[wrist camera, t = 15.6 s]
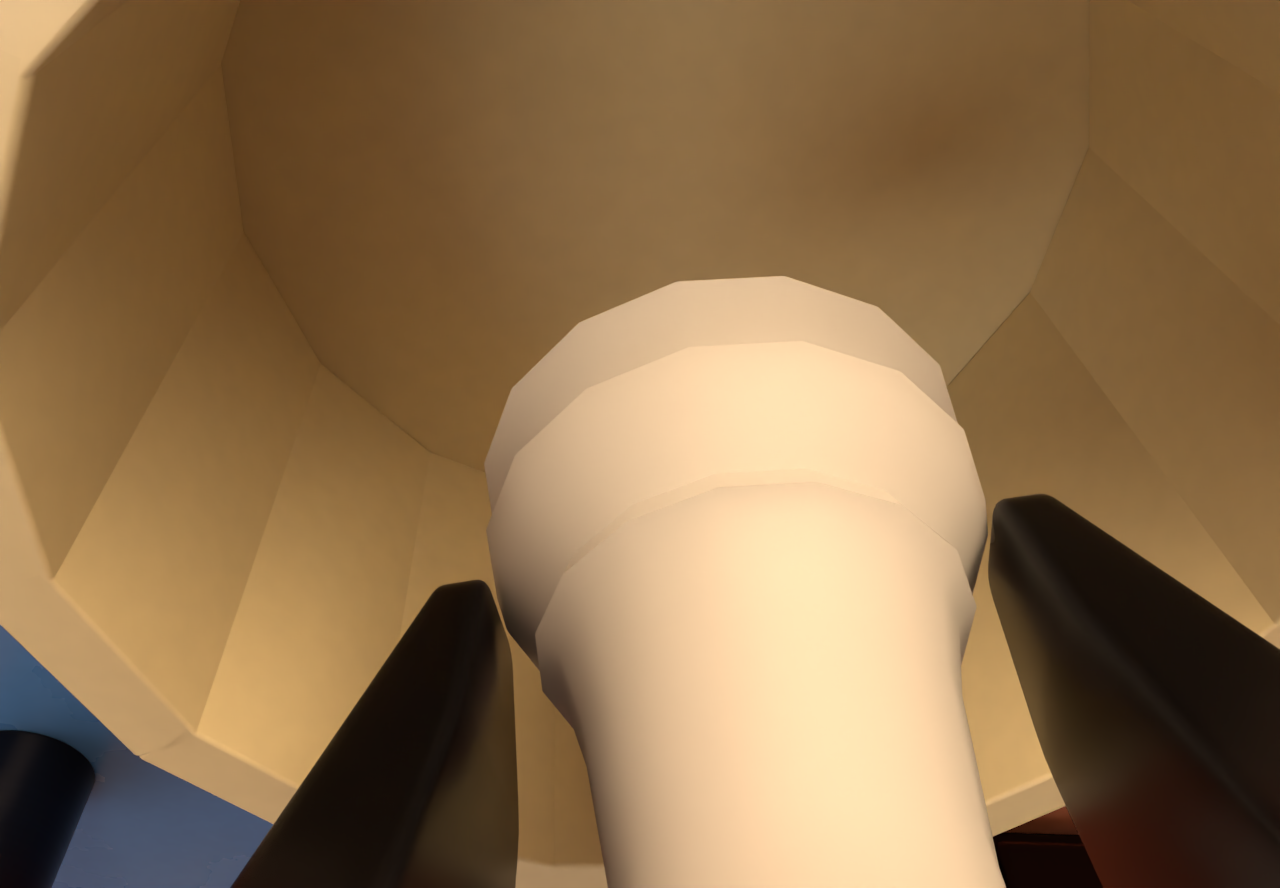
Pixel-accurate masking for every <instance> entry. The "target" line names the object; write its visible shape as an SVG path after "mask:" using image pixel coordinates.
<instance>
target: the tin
mask: <svg viewBox="0 0 1280 888" xmlns="http://www.w3.org/2000/svg"><path fill="white" fill-rule="evenodd" d="M772 276H786V277H789V278H792V279H795V280H798V281H801V282H804V283H807V284H811V285H814V286H817V287H820V288H823V289H826V290H829V291H832V292H835V293H838V294H841V295H844V296H847V297H850V298H853V299H856V300H859V301H862V302H865V303H868V304H871V305H874V306H877V307H879V308H880V309H881V310H882V311H883V312H884V313H885V314H886V315H887V316H889V317H890V318H891V319H892V320H893V321H894V322H895V323H896V324H897V325H898V326H899V327H900V328H901V329H902V330H903V331H904V332H905V333H907V334H908V335H909V336H910V337H911V338H912V339H913V340H914V341H915V342H916V343H917V344H918V345H919V346H920V347H921V348H922V349H923V350H925V351H926V352H927V353H928V354H929V355H930V356H931V357H932V358H933V359H934V360H935V361H936V362H937V363H938V364H939V365H940V367H941V370H942V374H943V377H944V380H945V383H946V387H947V390H948V393H949V396H950V400H951V403H952V406H953V409H954V413H955V416H956V419H957V422H958V424H959V425H960V426H961V427H962V428H963V429H964V431H965V434H966V438H967V441H968V444H969V447H970V451H971V454H972V457H973V460H974V464H975V467H976V470H977V474H978V477H979V480H980V483H981V487H982V490H983V493H984V497H985V500H986V512H987V526H988V537H987V541H986V545H985V548H984V552H983V556H982V560H981V564H980V568H979V572H978V576H977V580H976V584H975V587H974V591H973V597H974V600H975V603H976V606H977V607H976V611H975V615H974V619H973V623H972V626H971V630H970V634H969V638H968V642H967V645H966V649H965V653H964V657H963V661H962V664H961V677H962V696H963V701H964V706H965V710H966V715H967V720H968V724H969V729H970V734H971V738H972V743H973V748H974V753H975V757H976V762H977V767H978V771H979V776H980V781H981V785H982V790H983V795H984V799H985V804H986V809H987V813H988V818H989V823H990V827H991V832H992V837H993V836H996V835H998V834H1000V833H1003V832H1005V831H1007V830H1010V829H1012V828H1015V827H1017V826H1019V825H1022V824H1024V823H1026V822H1029V821H1031V820H1034V819H1036V818H1038V817H1041V816H1043V815H1045V814H1048V813H1050V812H1052V811H1055V810H1057V809H1060V808H1062V807H1064V806H1066V805H1065V803H1064V801H1063V799H1062V797H1061V794H1060V792H1059V790H1058V788H1057V786H1056V783H1055V781H1054V779H1053V776H1052V774H1051V772H1050V769H1049V767H1048V764H1047V762H1046V760H1045V757H1044V755H1043V752H1042V749H1041V746H1040V743H1039V740H1038V737H1037V734H1036V731H1035V728H1034V725H1033V722H1032V719H1031V716H1030V713H1029V710H1028V707H1027V703H1026V700H1025V697H1024V694H1023V691H1022V688H1021V685H1020V682H1019V679H1018V675H1017V672H1016V669H1015V666H1014V663H1013V660H1012V657H1011V654H1010V651H1009V647H1008V644H1007V641H1006V638H1005V635H1004V632H1003V629H1002V626H1001V623H1000V620H999V616H998V613H997V610H996V607H995V604H994V601H993V598H992V594H991V590H990V585H989V579H988V561H989V550H990V539H991V527H992V516H993V511H994V508H995V506H996V504H997V503H998V502H999V501H1001V500H1002V499H1006V498H1012V497H1019V496H1026V495H1032V494H1047V495H1050V496H1052V497H1054V498H1056V499H1057V500H1059V501H1060V502H1062V503H1063V504H1065V505H1066V506H1067V507H1069V508H1070V509H1072V510H1073V511H1075V512H1076V513H1078V514H1079V515H1081V516H1082V517H1084V518H1085V519H1087V520H1088V521H1090V522H1091V523H1093V524H1094V525H1096V526H1097V527H1099V528H1100V529H1102V530H1103V531H1105V532H1106V533H1108V534H1109V535H1111V536H1112V537H1114V538H1115V539H1117V540H1118V541H1120V542H1121V543H1123V544H1124V545H1126V546H1127V547H1129V548H1130V549H1131V550H1133V551H1134V552H1136V553H1137V554H1139V555H1140V556H1142V557H1143V558H1145V559H1146V560H1148V561H1149V562H1151V563H1152V564H1154V565H1155V566H1157V567H1158V568H1160V569H1161V570H1163V571H1164V572H1166V573H1167V574H1169V575H1170V576H1172V577H1173V578H1175V579H1176V580H1178V581H1179V582H1181V583H1182V584H1184V585H1185V586H1187V587H1188V588H1190V589H1191V590H1193V591H1194V592H1195V593H1197V594H1198V595H1200V596H1201V597H1203V598H1204V599H1206V600H1207V601H1209V602H1210V603H1212V604H1213V605H1215V606H1216V607H1218V608H1219V609H1221V610H1222V611H1224V612H1225V613H1227V614H1228V615H1230V616H1231V617H1233V618H1234V619H1236V620H1237V621H1239V622H1240V623H1242V624H1243V625H1245V626H1246V627H1248V628H1249V629H1251V630H1252V631H1254V632H1255V633H1257V634H1258V635H1259V636H1261V637H1262V638H1264V639H1265V640H1267V641H1268V642H1270V643H1271V644H1273V645H1274V646H1276V647H1277V648H1279V649H1280V0H0V625H1V626H2V627H3V628H4V629H5V630H6V631H7V632H8V633H9V634H10V635H11V636H12V637H13V638H15V639H16V640H17V641H18V642H19V643H20V644H21V645H22V646H23V647H24V648H25V649H26V650H27V651H28V652H29V653H30V654H31V655H32V656H33V657H34V658H35V659H36V660H37V661H38V662H39V663H40V664H41V665H42V666H43V667H44V668H46V669H47V670H48V671H49V672H50V673H51V674H52V675H53V676H54V677H55V678H56V679H57V680H58V681H59V682H60V683H61V684H62V685H63V686H64V687H65V688H66V689H67V690H68V691H69V692H70V693H71V694H72V695H73V696H74V697H75V698H76V699H78V700H79V701H80V702H81V703H82V704H83V705H84V706H85V707H86V708H87V709H88V710H89V711H90V712H91V713H92V714H93V715H94V716H95V717H96V718H97V719H98V720H99V721H100V722H101V723H102V724H103V725H104V726H105V727H106V728H107V729H108V730H110V731H111V732H112V733H113V734H114V735H115V736H116V737H117V738H118V739H119V740H120V741H121V742H122V743H123V744H124V745H125V746H126V747H127V748H128V749H129V750H130V751H131V752H132V753H133V754H134V755H137V756H140V758H141V759H142V760H144V761H146V762H148V763H151V764H153V765H155V766H157V767H159V768H161V769H163V770H165V771H167V772H169V773H171V774H173V775H175V776H177V777H179V778H181V779H183V780H185V781H187V782H189V783H191V784H193V785H195V786H197V787H199V788H201V789H203V790H205V791H207V792H209V793H211V794H213V795H215V796H217V797H219V798H221V799H223V800H225V801H227V802H229V803H231V804H233V805H235V806H237V807H239V808H242V809H244V810H246V811H248V812H250V813H252V814H254V815H256V816H258V817H260V818H262V819H264V820H266V821H268V822H270V823H272V824H274V823H275V821H276V820H277V818H278V817H279V816H280V814H281V813H282V811H283V810H284V808H285V807H286V805H287V804H288V802H289V801H290V800H291V798H292V797H293V795H294V794H295V792H296V791H297V789H298V788H299V786H300V785H301V784H302V782H303V781H304V779H305V778H306V776H307V775H308V773H309V772H310V770H311V769H312V767H313V766H314V765H315V763H316V762H317V760H318V759H319V757H320V756H321V754H322V753H323V751H324V750H325V749H326V747H327V746H328V744H329V743H330V741H331V740H332V738H333V737H334V735H335V734H336V732H337V731H338V730H339V728H340V727H341V725H342V724H343V722H344V721H345V719H346V718H347V716H348V715H349V714H350V712H351V711H352V709H353V708H354V706H355V705H356V703H357V702H358V700H359V699H360V698H361V696H362V695H363V693H364V692H365V690H366V689H367V687H368V686H369V684H370V683H371V681H372V680H373V679H374V677H375V676H376V674H377V673H378V671H379V670H380V668H381V667H382V665H383V664H384V663H385V661H386V660H387V658H388V657H389V655H390V654H391V652H392V651H393V649H394V648H395V646H396V645H397V644H398V642H399V641H400V639H401V638H402V636H403V635H404V633H405V632H406V630H407V629H408V628H409V626H410V625H411V623H412V622H413V620H414V619H415V617H416V616H417V614H418V613H419V612H420V610H421V609H422V607H423V606H424V604H425V603H426V601H427V600H428V598H429V597H430V595H431V594H432V593H433V591H434V590H436V589H437V588H438V587H439V586H441V585H444V584H451V583H457V582H464V581H470V580H482V581H484V582H485V583H486V584H487V585H488V586H489V588H490V590H491V593H492V596H493V598H494V601H495V604H496V607H497V610H498V613H499V615H500V618H501V621H502V624H503V627H504V629H505V632H506V635H507V638H508V641H509V645H510V650H511V655H512V664H513V684H514V708H515V732H516V756H517V780H518V809H519V840H518V860H517V873H516V886H515V888H608V885H607V879H606V874H605V868H604V862H603V857H602V851H601V845H600V840H599V834H598V828H597V823H596V817H595V811H594V806H593V800H592V794H591V789H590V783H589V777H588V772H587V766H586V763H585V760H584V757H583V754H582V752H581V749H580V746H579V743H578V740H577V737H576V734H575V731H574V729H573V728H572V727H571V725H570V724H569V723H568V722H567V721H566V719H565V718H564V717H563V716H562V714H561V713H560V712H559V711H558V710H557V708H556V707H555V706H554V705H553V703H552V702H551V701H550V700H549V699H548V697H547V696H546V695H545V694H544V692H543V691H542V684H541V676H540V671H539V670H538V669H537V667H536V666H535V665H534V664H533V662H532V661H531V660H530V659H529V657H528V656H527V655H526V654H525V652H524V651H523V650H522V649H521V647H520V646H519V645H518V644H517V642H516V641H515V640H514V639H513V637H512V636H511V635H510V634H509V632H508V631H507V629H506V626H505V622H504V619H503V616H502V613H501V610H500V607H499V603H498V600H497V595H496V588H495V582H494V576H493V570H492V564H491V558H490V551H489V545H488V539H487V533H486V529H487V526H488V523H489V521H490V518H491V516H492V512H491V505H490V499H489V492H488V486H487V479H486V473H485V466H484V462H485V460H486V457H487V454H488V451H489V449H490V446H491V443H492V441H493V438H494V435H495V432H496V430H497V427H498V424H499V422H500V419H501V416H502V413H503V411H504V408H505V405H506V403H507V400H508V397H509V394H510V392H511V389H512V388H513V387H514V386H515V385H516V384H517V383H518V382H519V381H520V380H521V379H522V378H523V377H524V376H525V375H526V374H527V373H528V372H529V371H530V370H531V369H532V368H533V367H534V366H535V365H536V364H537V363H538V362H539V361H540V360H541V359H542V358H543V357H544V356H545V355H546V354H547V353H548V352H549V351H550V350H551V349H553V348H554V347H555V346H556V345H557V344H558V343H559V342H560V341H561V340H562V339H563V338H564V337H565V336H566V335H567V334H568V333H569V332H570V331H571V330H572V329H573V328H574V327H575V326H576V325H577V324H578V323H579V322H582V321H584V320H586V319H589V318H591V317H593V316H596V315H598V314H601V313H603V312H605V311H608V310H610V309H612V308H615V307H617V306H620V305H622V304H624V303H627V302H629V301H631V300H634V299H636V298H639V297H641V296H643V295H646V294H648V293H650V292H653V291H655V290H658V289H660V288H662V287H665V286H667V285H669V284H672V283H674V282H677V281H695V280H714V279H734V278H753V277H772Z"/></svg>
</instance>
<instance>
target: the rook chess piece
mask: <svg viewBox="0 0 1280 888" xmlns="http://www.w3.org/2000/svg"><path fill="white" fill-rule="evenodd" d="M484 466H485V473H486V479H487V486H488V492H489V499H490V505H491V512H492V516H491V518H490V521H489V523H488V526H487V529H486V533H487V539H488V545H489V551H490V558H491V564H492V570H493V576H494V582H495V588H496V595H497V600H498V603H499V607H500V610H501V613H502V616H503V619H504V622H505V626H506V629H507V631H508V632H509V634H510V635H511V636H512V637H513V639H514V640H515V641H516V642H517V644H518V645H519V646H520V647H521V649H522V650H523V651H524V652H525V654H526V655H527V656H528V657H529V659H530V660H531V661H532V662H533V664H534V665H535V666H536V667H537V669H538V670H539V671H540V676H541V684H542V691H543V692H544V694H545V695H546V696H547V697H548V699H549V700H550V701H551V702H552V703H553V705H554V706H555V707H556V708H557V710H558V711H559V712H560V713H561V714H562V716H563V717H564V718H565V719H566V721H567V722H568V723H569V724H570V725H571V727H572V728H573V729H574V731H575V734H576V737H577V740H578V743H579V746H580V749H581V752H582V754H583V757H584V760H585V763H586V766H587V772H588V777H589V783H590V789H591V794H592V800H593V806H594V811H595V817H596V823H597V828H598V834H599V840H600V845H601V851H602V857H603V862H604V868H605V874H606V879H607V885H608V888H1006V885H1005V882H1004V880H1003V877H1002V874H1001V871H1000V869H999V865H998V860H997V855H996V851H995V846H994V841H993V837H992V832H991V827H990V823H989V818H988V813H987V809H986V804H985V799H984V795H983V790H982V785H981V781H980V776H979V771H978V767H977V762H976V757H975V753H974V748H973V743H972V738H971V734H970V729H969V724H968V720H967V715H966V710H965V706H964V701H963V696H962V677H961V664H962V661H963V657H964V653H965V649H966V645H967V642H968V638H969V634H970V630H971V626H972V623H973V619H974V615H975V611H976V607H977V606H976V603H975V600H974V597H973V591H974V587H975V584H976V580H977V576H978V572H979V568H980V564H981V560H982V556H983V552H984V548H985V545H986V541H987V537H988V526H987V512H986V500H985V497H984V493H983V490H982V487H981V483H980V480H979V477H978V474H977V470H976V467H975V464H974V460H973V457H972V454H971V451H970V447H969V444H968V441H967V438H966V434H965V431H964V429H963V428H962V427H961V426H960V425H959V424H958V422H957V419H956V416H955V413H954V409H953V406H952V403H951V400H950V396H949V393H948V390H947V387H946V383H945V380H944V377H943V374H942V370H941V367H940V365H939V364H938V363H937V362H936V361H935V360H934V359H933V358H932V357H931V356H930V355H929V354H928V353H927V352H926V351H925V350H923V349H922V348H921V347H920V346H919V345H918V344H917V343H916V342H915V341H914V340H913V339H912V338H911V337H910V336H909V335H908V334H907V333H905V332H904V331H903V330H902V329H901V328H900V327H899V326H898V325H897V324H896V323H895V322H894V321H893V320H892V319H891V318H890V317H889V316H887V315H886V314H885V313H884V312H883V311H882V310H881V309H880V308H879V307H877V306H874V305H871V304H868V303H865V302H862V301H859V300H856V299H853V298H850V297H847V296H844V295H841V294H838V293H835V292H832V291H829V290H826V289H823V288H820V287H817V286H814V285H811V284H807V283H804V282H801V281H798V280H795V279H792V278H789V277H786V276H772V277H753V278H734V279H714V280H695V281H677V282H674V283H672V284H669V285H667V286H665V287H662V288H660V289H658V290H655V291H653V292H650V293H648V294H646V295H643V296H641V297H639V298H636V299H634V300H631V301H629V302H627V303H624V304H622V305H620V306H617V307H615V308H612V309H610V310H608V311H605V312H603V313H601V314H598V315H596V316H593V317H591V318H589V319H586V320H584V321H582V322H579V323H578V324H577V325H576V326H575V327H574V328H573V329H572V330H571V331H570V332H569V333H568V334H567V335H566V336H565V337H564V338H563V339H562V340H561V341H560V342H559V343H558V344H557V345H556V346H555V347H554V348H553V349H551V350H550V351H549V352H548V353H547V354H546V355H545V356H544V357H543V358H542V359H541V360H540V361H539V362H538V363H537V364H536V365H535V366H534V367H533V368H532V369H531V370H530V371H529V372H528V373H527V374H526V375H525V376H524V377H523V378H522V379H521V380H520V381H519V382H518V383H517V384H516V385H515V386H514V387H513V388H512V389H511V392H510V394H509V397H508V400H507V403H506V405H505V408H504V411H503V413H502V416H501V419H500V422H499V424H498V427H497V430H496V432H495V435H494V438H493V441H492V443H491V446H490V449H489V451H488V454H487V457H486V460H485V462H484Z"/></svg>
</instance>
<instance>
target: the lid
mask: <svg viewBox="0 0 1280 888" xmlns="http://www.w3.org/2000/svg"><path fill="white" fill-rule="evenodd" d="M272 826H273V824H272V823H270V822H268V821H266V820H264V819H262V818H260V817H258V816H256V815H254V814H252V813H250V812H248V811H246V810H244V809H242V808H239V807H237V806H235V805H233V804H231V803H229V802H227V801H225V800H223V799H221V798H219V797H217V796H215V795H213V794H211V793H209V792H207V791H205V790H203V789H201V788H199V787H197V786H195V785H193V784H191V783H189V782H187V781H185V780H183V779H181V778H179V777H177V776H175V775H173V774H171V773H169V772H167V771H165V770H163V769H161V768H159V767H157V766H155V765H153V764H151V763H148V762H146V761H144V760H142V759H141V758H140V756H137V755H134V754H133V753H132V752H131V751H130V750H129V749H128V748H127V747H126V746H125V745H124V744H123V743H122V742H121V741H120V740H119V739H118V738H117V737H116V736H115V735H114V734H113V733H112V732H111V731H110V730H108V729H107V728H106V727H105V726H104V725H103V724H102V723H101V722H100V721H99V720H98V719H97V718H96V717H95V716H94V715H93V714H92V713H91V712H90V711H89V710H88V709H87V708H86V707H85V706H84V705H83V704H82V703H81V702H80V701H79V700H78V699H76V698H75V697H74V696H73V695H72V694H71V693H70V692H69V691H68V690H67V689H66V688H65V687H64V686H63V685H62V684H61V683H60V682H59V681H58V680H57V679H56V678H55V677H54V676H53V675H52V674H51V673H50V672H49V671H48V670H47V669H46V668H44V667H43V666H42V665H41V664H40V663H39V662H38V661H37V660H36V659H35V658H34V657H33V656H32V655H31V654H30V653H29V652H28V651H27V650H26V649H25V648H24V647H23V646H22V645H21V644H20V643H19V642H18V641H17V640H16V639H15V638H13V637H12V636H11V635H10V634H9V633H8V632H7V631H6V630H5V629H4V628H3V627H2V626H1V625H0V888H230V887H231V886H232V884H233V883H234V881H235V880H236V878H237V877H238V875H239V874H240V872H241V871H242V869H243V868H244V867H245V865H246V864H247V862H248V861H249V859H250V858H251V856H252V855H253V853H254V852H255V851H256V849H257V848H258V846H259V845H260V843H261V842H262V840H263V839H264V837H265V836H266V835H267V833H268V832H269V830H270V829H271V827H272Z"/></svg>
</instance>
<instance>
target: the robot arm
mask: <svg viewBox="0 0 1280 888" xmlns="http://www.w3.org/2000/svg"><path fill="white" fill-rule="evenodd" d="M988 579H989V585H990V590H991V594H992V598H993V601H994V604H995V607H996V610H997V613H998V616H999V620H1000V623H1001V626H1002V629H1003V632H1004V635H1005V638H1006V641H1007V644H1008V647H1009V651H1010V654H1011V657H1012V660H1013V663H1014V666H1015V669H1016V672H1017V675H1018V679H1019V682H1020V685H1021V688H1022V691H1023V694H1024V697H1025V700H1026V703H1027V707H1028V710H1029V713H1030V716H1031V719H1032V722H1033V725H1034V728H1035V731H1036V734H1037V737H1038V740H1039V743H1040V746H1041V749H1042V752H1043V755H1044V757H1045V760H1046V762H1047V764H1048V767H1049V769H1050V772H1051V774H1052V776H1053V779H1054V781H1055V783H1056V786H1057V788H1058V790H1059V792H1060V794H1061V797H1062V799H1063V801H1064V803H1065V805H1066V808H1067V810H1068V812H1069V814H1070V816H1071V818H1072V821H1073V823H1074V825H1075V827H1076V829H1077V832H1078V834H1079V835H1055V834H1026V833H1000V834H998V835H996V836H993V841H994V846H995V851H996V855H997V860H998V865H999V869H1000V871H1001V874H1002V877H1003V880H1004V882H1005V885H1006V888H1280V649H1279V648H1277V647H1276V646H1274V645H1273V644H1271V643H1270V642H1268V641H1267V640H1265V639H1264V638H1262V637H1261V636H1259V635H1258V634H1257V633H1255V632H1254V631H1252V630H1251V629H1249V628H1248V627H1246V626H1245V625H1243V624H1242V623H1240V622H1239V621H1237V620H1236V619H1234V618H1233V617H1231V616H1230V615H1228V614H1227V613H1225V612H1224V611H1222V610H1221V609H1219V608H1218V607H1216V606H1215V605H1213V604H1212V603H1210V602H1209V601H1207V600H1206V599H1204V598H1203V597H1201V596H1200V595H1198V594H1197V593H1195V592H1194V591H1193V590H1191V589H1190V588H1188V587H1187V586H1185V585H1184V584H1182V583H1181V582H1179V581H1178V580H1176V579H1175V578H1173V577H1172V576H1170V575H1169V574H1167V573H1166V572H1164V571H1163V570H1161V569H1160V568H1158V567H1157V566H1155V565H1154V564H1152V563H1151V562H1149V561H1148V560H1146V559H1145V558H1143V557H1142V556H1140V555H1139V554H1137V553H1136V552H1134V551H1133V550H1131V549H1130V548H1129V547H1127V546H1126V545H1124V544H1123V543H1121V542H1120V541H1118V540H1117V539H1115V538H1114V537H1112V536H1111V535H1109V534H1108V533H1106V532H1105V531H1103V530H1102V529H1100V528H1099V527H1097V526H1096V525H1094V524H1093V523H1091V522H1090V521H1088V520H1087V519H1085V518H1084V517H1082V516H1081V515H1079V514H1078V513H1076V512H1075V511H1073V510H1072V509H1070V508H1069V507H1067V506H1066V505H1065V504H1063V503H1062V502H1060V501H1059V500H1057V499H1056V498H1054V497H1052V496H1050V495H1047V494H1032V495H1026V496H1019V497H1012V498H1006V499H1002V500H1001V501H999V502H998V503H997V504H996V506H995V508H994V511H993V516H992V527H991V539H990V550H989V561H988ZM518 840H519V809H518V780H517V756H516V732H515V708H514V684H513V664H512V655H511V650H510V645H509V641H508V638H507V635H506V632H505V629H504V627H503V624H502V621H501V618H500V615H499V613H498V610H497V607H496V604H495V601H494V598H493V596H492V593H491V590H490V588H489V586H488V585H487V584H486V583H485V582H484V581H482V580H470V581H464V582H457V583H451V584H444V585H441V586H439V587H438V588H437V589H436V590H434V591H433V593H432V594H431V595H430V597H429V598H428V600H427V601H426V603H425V604H424V606H423V607H422V609H421V610H420V612H419V613H418V614H417V616H416V617H415V619H414V620H413V622H412V623H411V625H410V626H409V628H408V629H407V630H406V632H405V633H404V635H403V636H402V638H401V639H400V641H399V642H398V644H397V645H396V646H395V648H394V649H393V651H392V652H391V654H390V655H389V657H388V658H387V660H386V661H385V663H384V664H383V665H382V667H381V668H380V670H379V671H378V673H377V674H376V676H375V677H374V679H373V680H372V681H371V683H370V684H369V686H368V687H367V689H366V690H365V692H364V693H363V695H362V696H361V698H360V699H359V700H358V702H357V703H356V705H355V706H354V708H353V709H352V711H351V712H350V714H349V715H348V716H347V718H346V719H345V721H344V722H343V724H342V725H341V727H340V728H339V730H338V731H337V732H336V734H335V735H334V737H333V738H332V740H331V741H330V743H329V744H328V746H327V747H326V749H325V750H324V751H323V753H322V754H321V756H320V757H319V759H318V760H317V762H316V763H315V765H314V766H313V767H312V769H311V770H310V772H309V773H308V775H307V776H306V778H305V779H304V781H303V782H302V784H301V785H300V786H299V788H298V789H297V791H296V792H295V794H294V795H293V797H292V798H291V800H290V801H289V802H288V804H287V805H286V807H285V808H284V810H283V811H282V813H281V814H280V816H279V817H278V818H277V820H276V821H275V823H274V824H273V826H272V827H271V829H270V830H269V832H268V833H267V835H266V836H265V837H264V839H263V840H262V842H261V843H260V845H259V846H258V848H257V849H256V851H255V852H254V853H253V855H252V856H251V858H250V859H249V861H248V862H247V864H246V865H245V867H244V868H243V869H242V871H241V872H240V874H239V875H238V877H237V878H236V880H235V881H234V883H233V884H232V886H231V887H230V888H515V886H516V873H517V860H518Z"/></svg>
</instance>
